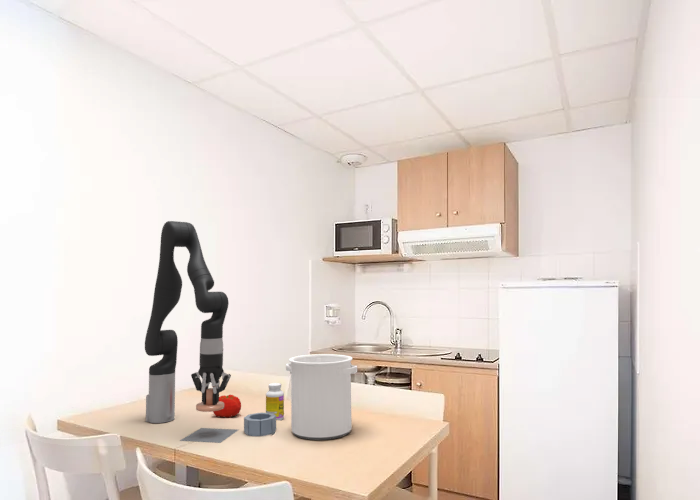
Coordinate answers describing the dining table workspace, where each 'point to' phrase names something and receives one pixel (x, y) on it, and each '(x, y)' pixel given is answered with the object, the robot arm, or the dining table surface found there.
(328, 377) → the bucket
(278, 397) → the supplement bottle
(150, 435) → the dining table surface
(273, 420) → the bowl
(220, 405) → the lid
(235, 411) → the tomato
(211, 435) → the mat
